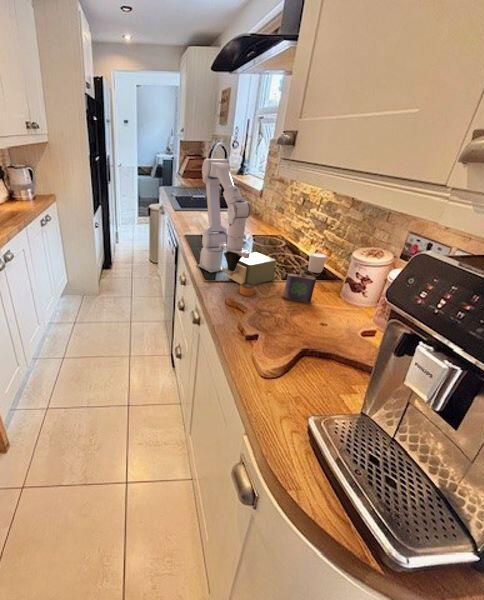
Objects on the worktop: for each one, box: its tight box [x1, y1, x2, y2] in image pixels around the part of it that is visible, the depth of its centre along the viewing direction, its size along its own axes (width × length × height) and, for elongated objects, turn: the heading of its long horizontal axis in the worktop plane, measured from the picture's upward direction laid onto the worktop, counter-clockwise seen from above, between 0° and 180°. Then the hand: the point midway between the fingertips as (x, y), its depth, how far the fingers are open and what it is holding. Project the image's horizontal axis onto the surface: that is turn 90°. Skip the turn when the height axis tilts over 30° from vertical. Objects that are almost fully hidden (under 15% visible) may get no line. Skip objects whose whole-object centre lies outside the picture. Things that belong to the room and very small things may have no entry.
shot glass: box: [307, 252, 329, 274], centre depth 140 cm, size 7×7×7 cm
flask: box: [282, 270, 317, 304], centre depth 113 cm, size 9×3×11 cm, turn 65°
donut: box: [239, 283, 256, 297], centre depth 119 cm, size 5×5×3 cm
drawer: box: [221, 262, 249, 285], centre depth 128 cm, size 17×9×7 cm, turn 119°
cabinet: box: [239, 252, 277, 286], centre depth 130 cm, size 14×11×9 cm
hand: (231, 270), depth 124 cm, fingers closed
